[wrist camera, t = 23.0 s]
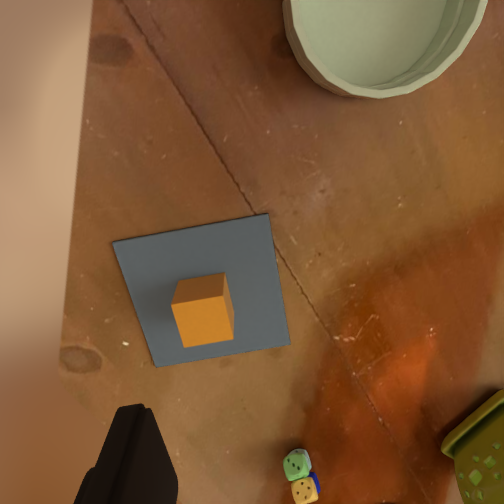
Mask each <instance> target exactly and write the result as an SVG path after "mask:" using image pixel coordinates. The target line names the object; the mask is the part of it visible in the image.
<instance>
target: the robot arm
mask: <svg viewBox="0 0 504 504" xmlns="http://www.w3.org/2000/svg"><path fill="white" fill-rule="evenodd" d="M177 495H178V479H177V475H176V473H175V470H174V467H173V465H172V462H171V459H170V457H169V454H168V451H167V449H166V446H165V444H164V441H163V438H162V436H161V433H160V430H159V428H158V425H157V423H156V420H155V417H154V415H153V412H152V410H151V409H150V408H146V409H145V407H144V405H143V404H134V405H128V406H122V407H119V408H118V410H117V411H116V414H115V416H114V419H113V421H112V424H111V427H110V429H109V432H108V434H107V437H106V439H105V442H104V445H103V447H102V450H101V453H100V455H99V458H98V460H97V463H96V465H95V467H93V468H91V469H90V470H89V471H88V472H87V473H86V475H85V477H84V479H83V481H82V484H81V486H80V489H79V491H78V494H77V496H76V499H75V501H74V504H176V501H177Z"/></svg>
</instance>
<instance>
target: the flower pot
mask: <svg viewBox="0 0 504 504" xmlns="http://www.w3.org/2000/svg"><path fill="white" fill-rule="evenodd" d="M441 452H442V453H444V454H445V455H447V456H449V457H450V458H452V459H454V466H455V474H456V480H457V484H458V487H459V490H460V494H461V497H462V499H463V502H464V504H504V390H499V391H498V392H497V393H495V394H494V395H493V396H492V397H490V398H489V399H488V400H487V401H486V402H484V403H483V404H482V405H481V406H480V407H479V408H477V409H476V410H475V411H474V412H473V413H472V414H470V415H469V416H468V417H467V418H466V419H465V420H464V421H462V422H461V423H460V424H459V425H458V426H457V427H456V428H454V429H453V430H452V431H451V432H450V433H449V434H448V435H447V436H446V437H445V438H444V440H443V442H442V445H441Z"/></svg>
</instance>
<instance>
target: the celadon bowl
mask: <svg viewBox="0 0 504 504" xmlns="http://www.w3.org/2000/svg"><path fill="white" fill-rule="evenodd" d="M487 2H488V0H283V1H282V8H283V16H284V24H285V32H286V37H287V39H288V42H289V44H290V46H291V49H292V51H293V53H294V55H295V58H296V60H297V62H298V64H299V65H300V66H301V67H302V68H303V69H304V71H305V72H306V73H307V74H308V75H309V76H310V77H311V79H312V80H313V81H314V82H315V83H316V84H318V85H320V86H322V87H324V88H325V89H327V90H329V91H331V92H333V93H334V94H336V95H339V96H346V97H353V98H359V99H382V98H387V97H392V96H397V95H403V94H408V93H410V92H412V91H414V90H416V89H418V88H420V87H421V86H423V85H425V84H427V83H429V82H431V81H432V80H434V79H436V78H437V77H438V76H439V75H440V74H441V73H442V72H443V71H445V70H446V69H447V68H448V67H449V66H450V65H451V64H452V63H453V62H454V61H455V60H456V59H457V58H458V57H459V56H460V55H461V54H462V52H463V51H464V49H465V47H466V46H467V44H468V42H469V41H470V39H471V38H472V36H473V34H474V33H475V31H476V29H477V28H478V26H479V24H480V22H481V20H482V17H483V14H484V11H485V8H486V5H487Z"/></svg>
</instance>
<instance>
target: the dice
mask: <svg viewBox="0 0 504 504" xmlns="http://www.w3.org/2000/svg"><path fill="white" fill-rule="evenodd" d="M283 467H284V471H285V474H286V476H287V478H288V480H290V481H294V482H292V485H291V487H292V493H293V497H294V500H295V502H296V504H307V503H310V502H313V501H316V500H317V499H318V493H319V492H320V485H319V481H318V478H317V476H316V474H315V473H314V472H309V471H310V469H311V462H310V458H309V456H308V453H307V451H306V450H304V449H295V450H293V451H291V452H290V453H289V454H288V456H286V457H285V458H284V460H283ZM295 480H296V481H295Z"/></svg>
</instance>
